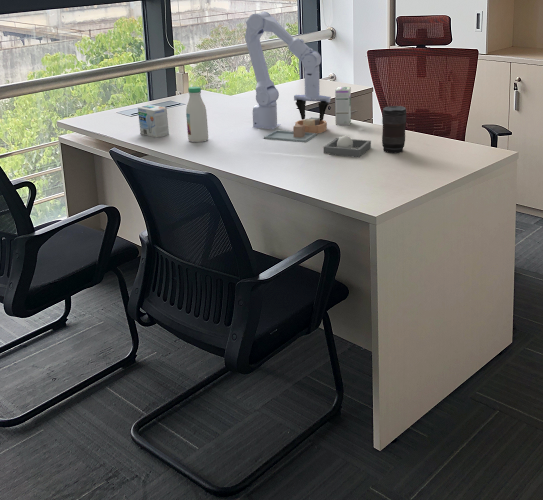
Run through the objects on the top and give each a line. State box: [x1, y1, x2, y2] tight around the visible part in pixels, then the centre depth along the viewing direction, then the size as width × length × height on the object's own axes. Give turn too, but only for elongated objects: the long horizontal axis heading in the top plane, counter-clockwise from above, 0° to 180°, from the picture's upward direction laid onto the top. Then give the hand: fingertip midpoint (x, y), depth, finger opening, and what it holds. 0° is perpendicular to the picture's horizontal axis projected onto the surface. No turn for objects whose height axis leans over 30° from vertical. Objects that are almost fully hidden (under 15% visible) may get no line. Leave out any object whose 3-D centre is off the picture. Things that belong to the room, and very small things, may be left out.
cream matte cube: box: [303, 118, 315, 126], centre depth 263 cm, size 4×4×4 cm
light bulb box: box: [137, 104, 170, 138], centre depth 268 cm, size 11×7×11 cm, turn 47°
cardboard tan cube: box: [292, 125, 305, 137], centre depth 256 cm, size 4×4×4 cm
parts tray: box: [263, 129, 317, 143], centre depth 257 cm, size 17×11×1 cm, turn 65°
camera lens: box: [381, 105, 407, 154], centre depth 233 cm, size 8×8×15 cm
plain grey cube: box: [308, 117, 319, 125], centre depth 267 cm, size 4×4×4 cm
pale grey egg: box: [336, 135, 353, 149], centre depth 237 cm, size 8×6×6 cm
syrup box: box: [334, 86, 352, 127], centre depth 272 cm, size 6×6×14 cm
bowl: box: [294, 118, 328, 134], centre depth 265 cm, size 12×12×3 cm
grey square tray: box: [323, 137, 372, 158], centre depth 237 cm, size 13×13×3 cm
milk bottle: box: [185, 86, 209, 143], centre depth 255 cm, size 8×8×20 cm
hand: (312, 119), depth 265 cm, fingers open, 7 cm apart
